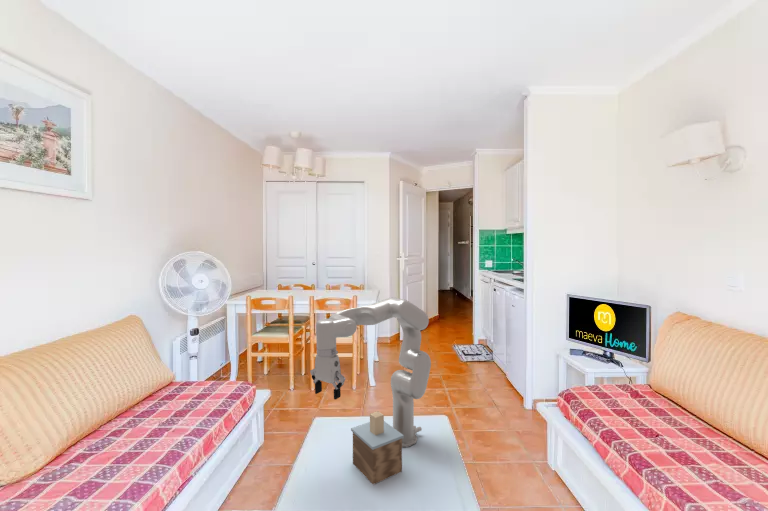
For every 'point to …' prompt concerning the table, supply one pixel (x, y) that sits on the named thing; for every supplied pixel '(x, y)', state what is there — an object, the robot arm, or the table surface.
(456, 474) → the table surface
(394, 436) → the lid
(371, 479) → the crate
